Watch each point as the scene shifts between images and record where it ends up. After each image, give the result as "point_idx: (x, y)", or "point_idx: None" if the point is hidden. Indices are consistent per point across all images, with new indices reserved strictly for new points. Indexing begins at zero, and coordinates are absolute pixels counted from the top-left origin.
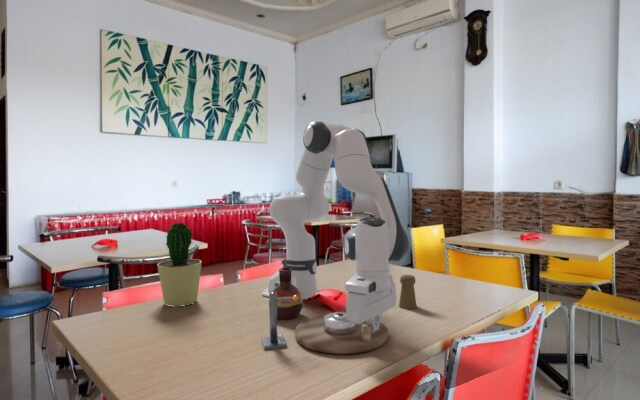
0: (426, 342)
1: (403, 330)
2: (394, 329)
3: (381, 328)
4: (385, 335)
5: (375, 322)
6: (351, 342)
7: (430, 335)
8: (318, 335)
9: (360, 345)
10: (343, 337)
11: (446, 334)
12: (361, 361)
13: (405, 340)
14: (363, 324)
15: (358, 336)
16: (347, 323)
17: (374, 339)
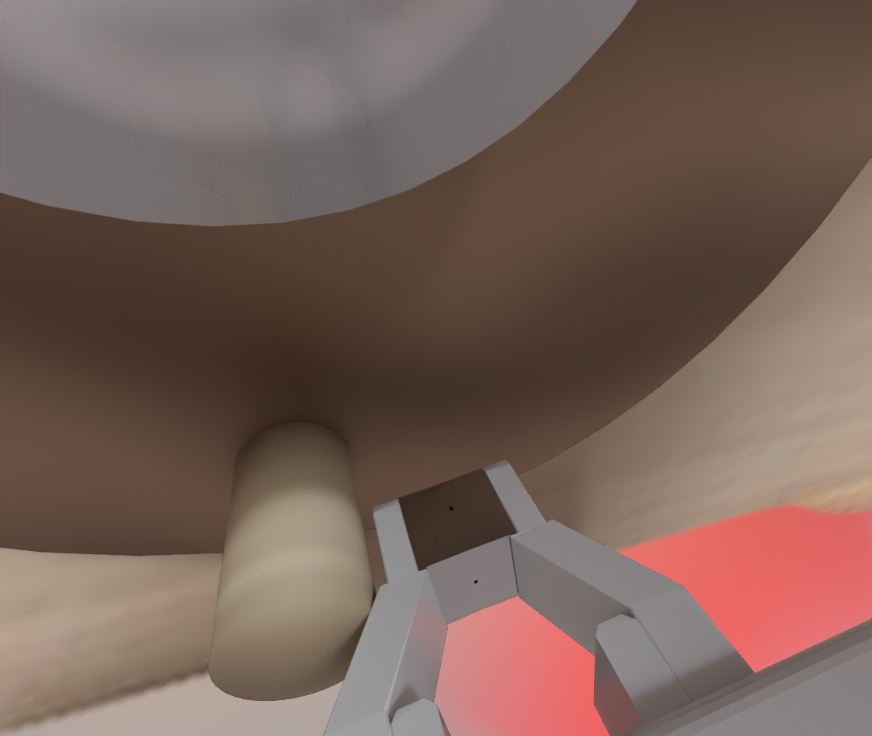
0: (683, 509)
1: (833, 290)
2: (837, 222)
3: (706, 285)
4: (555, 448)
5: (530, 585)
6: (64, 431)
7: (795, 449)
8: None
9: (138, 535)
10: (20, 199)
11: (836, 476)
12: (68, 582)
13: (651, 437)
14: (299, 606)
15: (303, 317)
16: (91, 205)
17: (395, 476)
